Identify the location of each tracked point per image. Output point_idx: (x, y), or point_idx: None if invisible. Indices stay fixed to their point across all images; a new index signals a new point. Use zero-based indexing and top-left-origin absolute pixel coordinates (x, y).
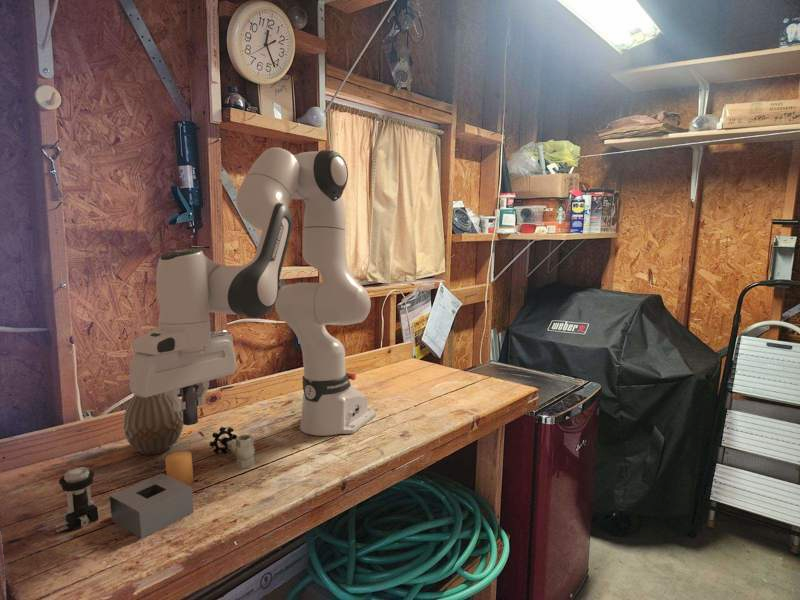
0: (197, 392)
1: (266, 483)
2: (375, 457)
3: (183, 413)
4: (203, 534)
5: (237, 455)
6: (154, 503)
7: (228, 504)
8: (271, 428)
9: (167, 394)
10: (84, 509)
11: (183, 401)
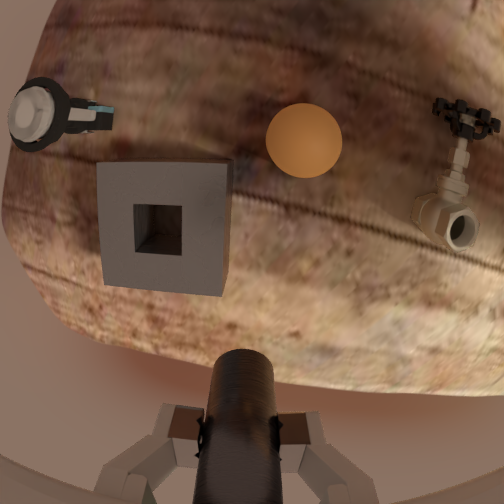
0: (314, 460)
1: (375, 311)
2: (484, 383)
3: (207, 404)
4: (193, 338)
5: (423, 215)
6: (135, 283)
7: (282, 308)
8: None
9: (106, 471)
10: (74, 133)
11: (191, 465)
